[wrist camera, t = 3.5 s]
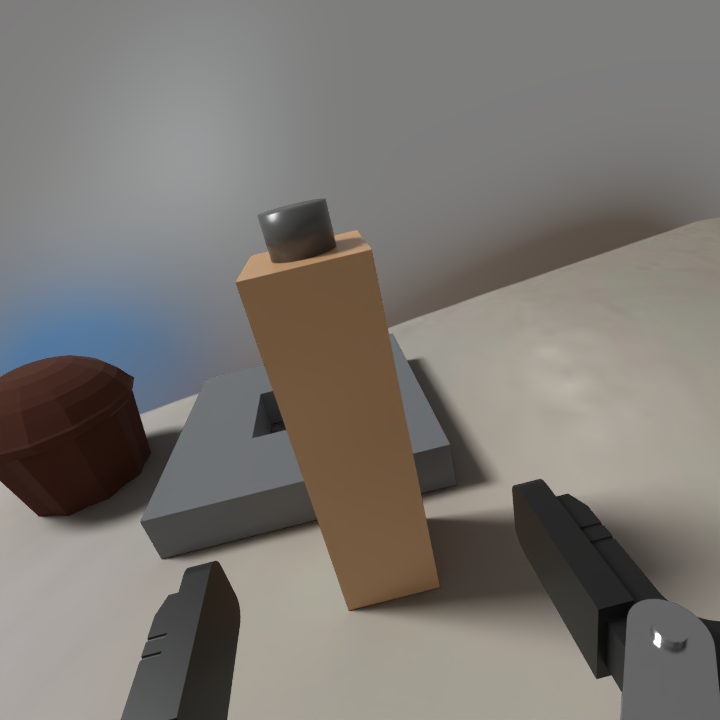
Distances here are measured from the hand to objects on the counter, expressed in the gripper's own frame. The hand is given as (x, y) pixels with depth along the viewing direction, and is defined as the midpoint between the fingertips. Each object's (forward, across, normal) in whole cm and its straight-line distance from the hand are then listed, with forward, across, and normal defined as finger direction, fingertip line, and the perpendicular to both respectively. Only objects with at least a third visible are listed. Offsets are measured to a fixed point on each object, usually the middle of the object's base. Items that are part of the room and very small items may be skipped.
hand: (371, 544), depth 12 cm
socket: (+20, +4, +10) cm, 23 cm away
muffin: (+23, +22, +10) cm, 33 cm away
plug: (+8, 0, +10) cm, 12 cm away
